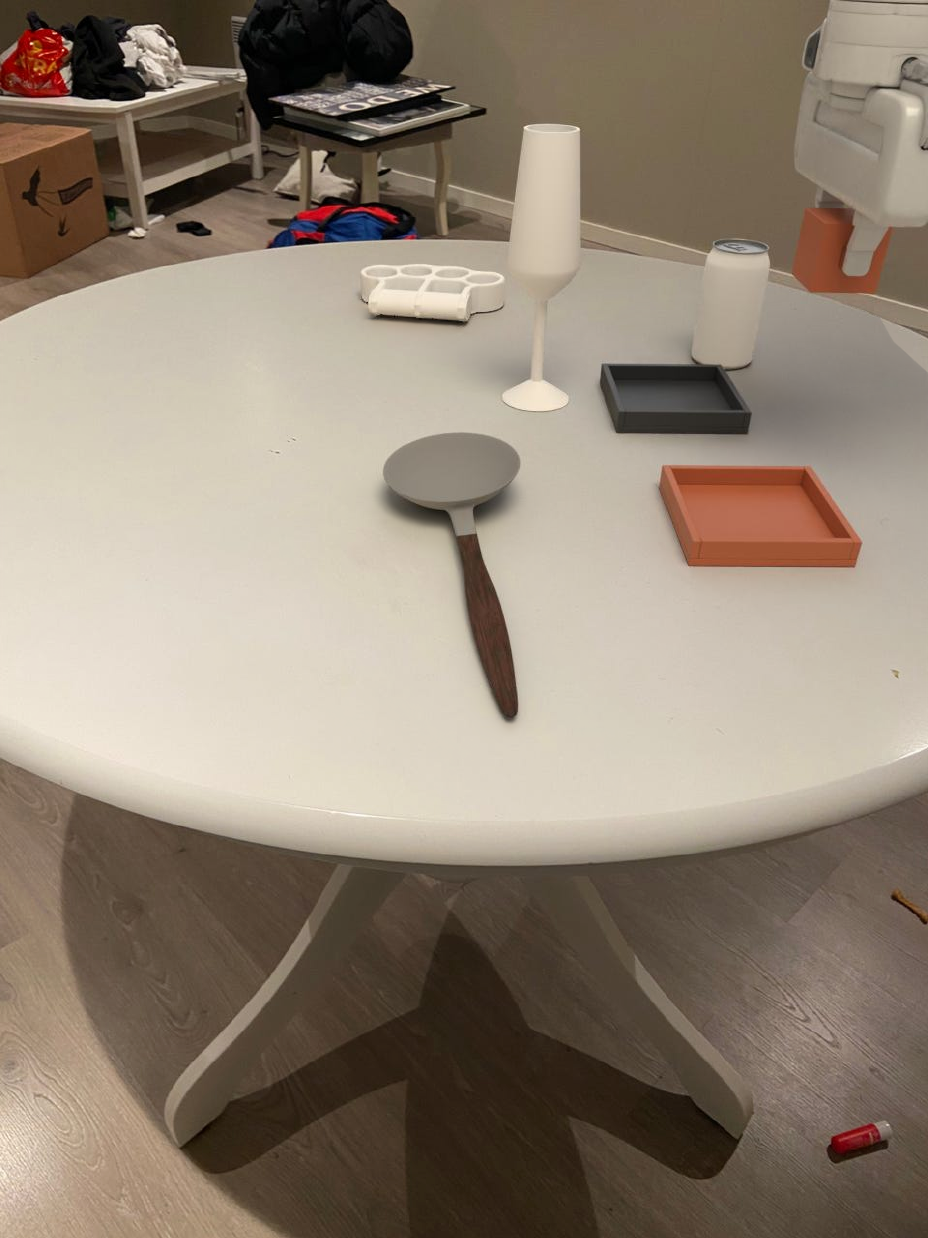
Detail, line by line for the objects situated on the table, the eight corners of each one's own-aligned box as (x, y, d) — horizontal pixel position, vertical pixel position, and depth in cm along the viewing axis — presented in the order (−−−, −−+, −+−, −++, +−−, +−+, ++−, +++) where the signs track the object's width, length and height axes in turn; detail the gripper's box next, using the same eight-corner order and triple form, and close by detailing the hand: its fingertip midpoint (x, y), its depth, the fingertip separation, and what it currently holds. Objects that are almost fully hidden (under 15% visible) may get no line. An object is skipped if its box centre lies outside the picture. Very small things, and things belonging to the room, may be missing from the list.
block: (853, 275, 76) (869, 208, 73) (875, 293, 72) (894, 223, 69) (790, 273, 76) (805, 206, 73) (809, 292, 72) (825, 222, 69)
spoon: (509, 456, 82) (507, 425, 80) (604, 724, 56) (605, 687, 54) (383, 472, 81) (378, 441, 79) (420, 751, 55) (415, 714, 54)
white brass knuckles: (342, 318, 113) (373, 283, 125) (492, 329, 111) (509, 293, 123) (341, 290, 111) (372, 257, 123) (493, 300, 109) (511, 266, 121)
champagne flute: (574, 410, 92) (598, 134, 78) (505, 411, 92) (516, 134, 78) (563, 384, 97) (584, 122, 84) (498, 385, 97) (508, 121, 83)
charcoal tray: (717, 384, 98) (721, 364, 97) (747, 433, 88) (752, 412, 87) (599, 382, 98) (601, 363, 97) (616, 432, 88) (618, 411, 87)
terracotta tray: (804, 488, 79) (810, 465, 78) (855, 566, 69) (862, 542, 68) (658, 487, 79) (662, 464, 78) (688, 565, 69) (693, 541, 68)
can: (714, 374, 100) (734, 256, 93) (678, 354, 105) (695, 240, 98) (763, 366, 103) (787, 250, 96) (726, 346, 107) (746, 234, 100)
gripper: (1005, 69, 56) (934, 304, 64) (880, 40, 73) (836, 229, 81) (899, 66, 56) (841, 302, 64) (798, 38, 73) (762, 228, 81)
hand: (837, 261), depth 73 cm, fingers closed on block, 5 cm apart
